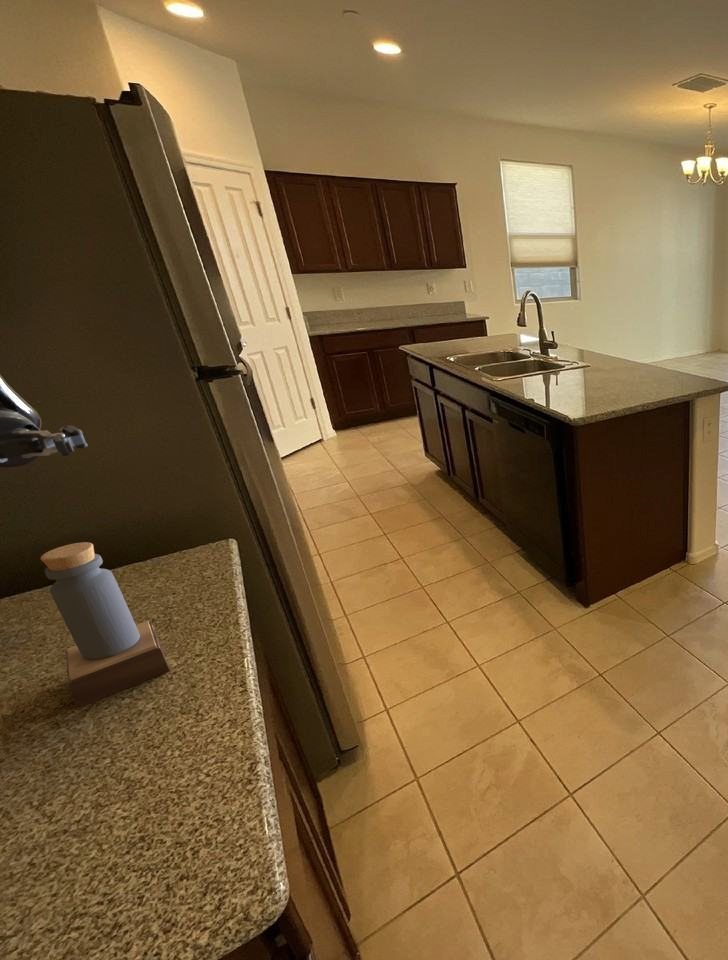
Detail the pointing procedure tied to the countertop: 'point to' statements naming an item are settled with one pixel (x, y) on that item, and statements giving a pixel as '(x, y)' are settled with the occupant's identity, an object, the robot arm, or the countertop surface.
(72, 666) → the stand
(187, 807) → the countertop surface
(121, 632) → the bottle
